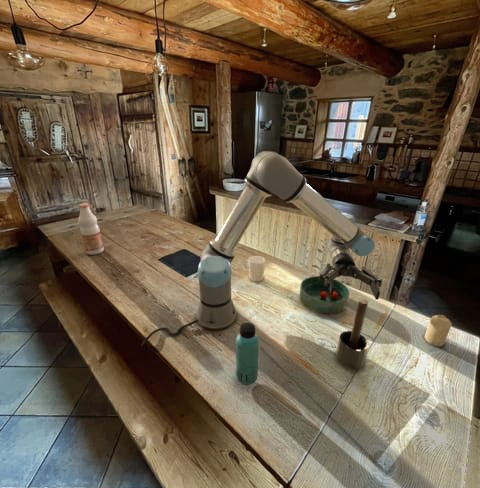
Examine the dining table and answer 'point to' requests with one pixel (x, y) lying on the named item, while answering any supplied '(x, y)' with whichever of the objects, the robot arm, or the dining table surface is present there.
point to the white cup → (256, 268)
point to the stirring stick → (358, 323)
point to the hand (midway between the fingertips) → (354, 293)
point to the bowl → (313, 300)
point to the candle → (438, 330)
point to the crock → (351, 351)
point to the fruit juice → (90, 230)
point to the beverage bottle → (247, 354)
